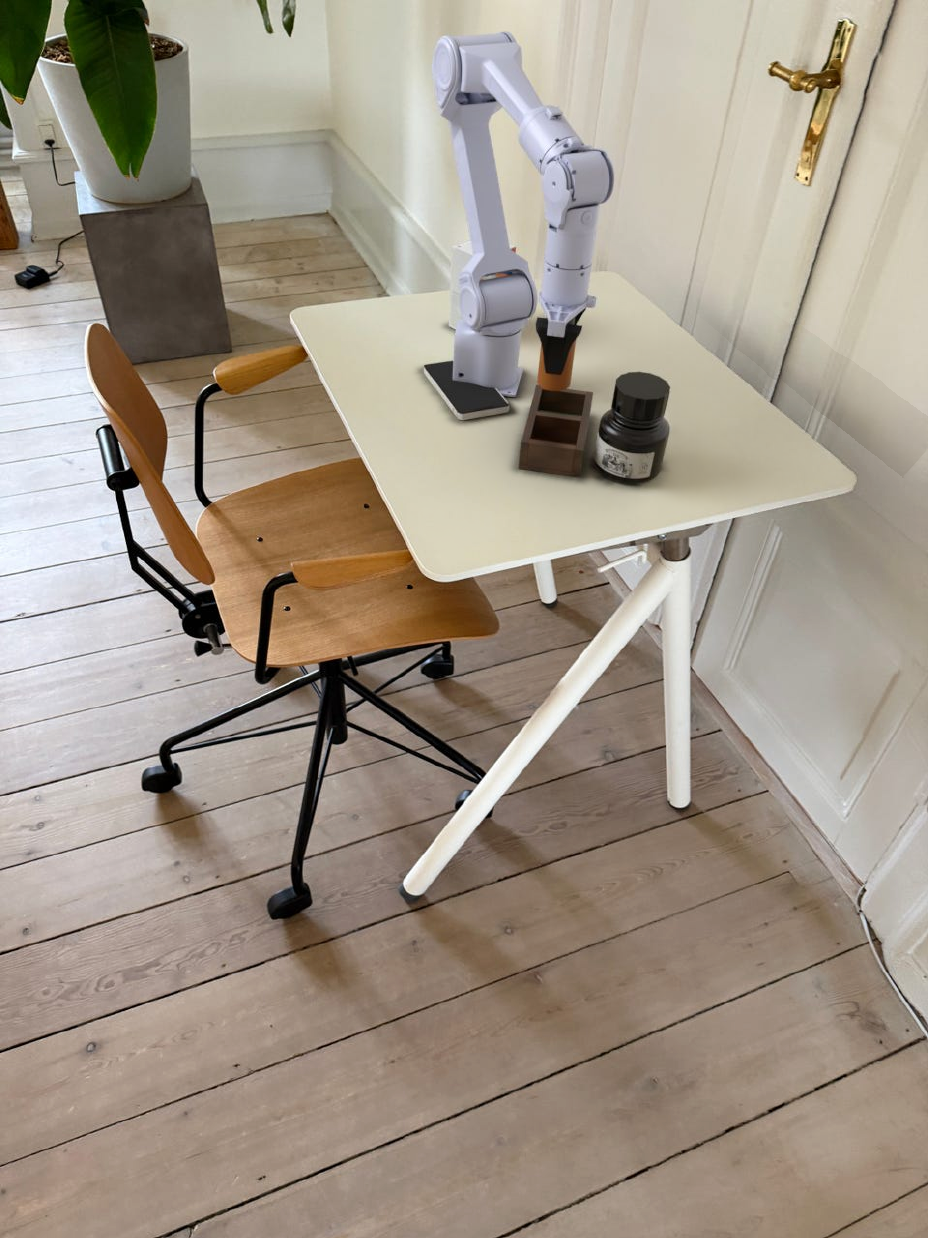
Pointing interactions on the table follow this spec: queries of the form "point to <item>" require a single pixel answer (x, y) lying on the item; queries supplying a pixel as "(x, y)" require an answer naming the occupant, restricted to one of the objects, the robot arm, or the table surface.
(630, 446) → the ink bottle
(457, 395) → the smartphone
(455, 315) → the small box
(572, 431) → the holder
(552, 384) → the spice bottle
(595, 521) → the table surface
